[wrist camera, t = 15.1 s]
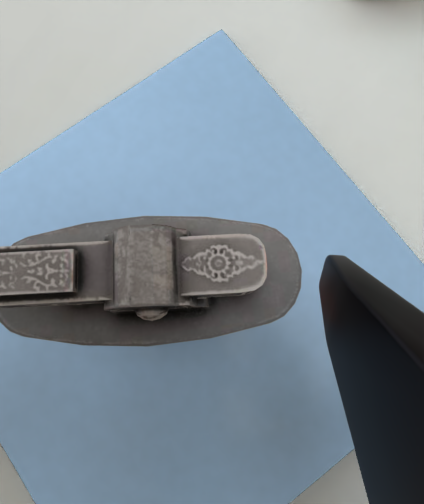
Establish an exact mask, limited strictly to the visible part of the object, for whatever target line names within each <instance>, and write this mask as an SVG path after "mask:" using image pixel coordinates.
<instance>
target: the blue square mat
mask: <svg viewBox="0 0 424 504" xmlns="http://www.w3.org/2000/svg"><path fill="white" fill-rule="evenodd" d="M138 216H203V217H212V218H220V219H228V220H235V221H243V222H251V223H259V224H264V225H267V226H270V227H272V228H275V229H277V230H278V231H279V232H281V233H282V234H283V235H284V236H286V237H287V238H288V239H289V240H290V242H291V244H292V245H293V247H294V248H295V250H296V252H297V253H298V257H299V261H300V265H301V269H302V278H301V289H300V292H299V294H298V297H297V300H296V302H295V304H294V305H293V307H292V308H291V309H290V310H289V311H288V312H287V314H286V315H285V316H284V317H282V318H280V319H278V320H276V321H274V322H272V323H269V324H265V325H262V326H258V327H254V328H250V329H246V330H242V331H238V332H234V333H230V334H226V335H222V336H218V337H215V338H210V339H202V340H194V341H187V342H179V343H171V344H163V345H156V346H148V347H145V346H88V345H77V344H70V343H63V342H56V341H49V340H42V339H35V338H28V337H23V336H20V335H17V334H15V333H12V332H10V331H9V330H8V329H7V328H6V327H5V326H4V325H3V324H1V323H0V443H1V445H2V447H3V448H4V450H5V452H6V454H7V455H8V457H9V459H10V460H11V462H12V464H13V466H14V467H15V469H16V471H17V473H18V474H19V476H20V478H21V479H22V481H23V483H24V485H25V486H26V488H27V490H28V491H29V493H30V495H31V497H32V498H33V500H34V502H35V503H36V504H289V503H290V502H291V501H293V500H294V499H295V498H296V497H297V496H299V495H300V494H301V493H302V492H303V491H305V490H306V489H307V488H308V487H309V486H310V485H312V484H313V483H314V482H315V481H316V480H318V479H319V478H320V477H321V476H322V475H324V474H325V473H326V472H327V471H328V470H330V469H331V468H332V467H333V466H334V465H335V464H337V463H338V462H339V461H340V460H341V459H343V458H344V457H345V456H346V455H347V454H349V453H350V452H351V451H352V450H353V449H354V445H353V441H352V437H351V433H350V430H349V426H348V422H347V418H346V415H345V411H344V407H343V403H342V400H341V396H340V392H339V388H338V385H337V381H336V377H335V373H334V370H333V366H332V362H331V358H330V355H329V351H328V347H327V343H326V337H325V330H324V322H323V315H322V308H321V300H320V293H319V281H320V277H321V273H322V270H323V266H324V262H325V259H326V257H327V256H328V255H343V256H346V257H347V258H349V259H350V260H351V261H353V262H354V263H356V264H357V265H358V266H360V267H361V268H363V269H364V270H365V271H367V272H368V273H369V274H371V275H372V276H374V277H375V278H376V279H378V280H379V281H381V282H382V283H383V284H385V285H386V286H387V287H389V288H390V289H392V290H393V291H394V292H396V293H397V294H399V295H400V296H401V297H403V298H404V299H405V300H407V301H408V302H410V303H411V304H412V305H414V306H415V307H417V308H418V309H419V310H421V311H422V312H423V313H424V264H423V263H422V262H421V261H420V260H419V259H418V257H417V256H416V255H415V254H414V253H413V252H412V250H411V249H410V248H409V247H408V246H407V245H406V243H405V242H404V241H403V240H402V239H401V238H400V236H399V235H398V234H397V233H396V232H395V231H394V229H393V228H392V227H391V226H390V225H389V224H388V222H387V221H386V220H385V219H384V218H383V217H382V215H381V214H380V213H379V212H378V211H377V210H376V208H375V207H374V206H373V205H372V204H371V203H370V201H369V200H368V199H367V198H366V197H365V196H364V194H363V193H362V192H361V191H360V190H359V189H358V187H357V186H356V185H355V184H354V183H353V182H352V180H351V179H350V178H349V177H348V176H347V175H346V173H345V172H344V171H343V170H342V169H341V168H340V166H339V165H338V164H337V163H336V162H335V161H334V160H333V158H332V157H331V156H330V155H329V154H328V153H327V151H326V150H325V149H324V148H323V147H322V146H321V144H320V143H319V142H318V141H317V140H316V139H315V137H314V136H313V135H312V134H311V133H310V132H309V130H308V129H307V128H306V127H305V126H304V125H303V123H302V122H301V121H300V120H299V119H298V118H297V116H296V115H295V114H294V113H293V112H292V111H291V109H290V108H289V107H288V106H287V105H286V104H285V102H284V101H283V100H282V99H281V98H280V97H279V95H278V94H277V93H276V92H275V91H274V90H273V88H272V87H271V86H270V85H269V84H268V83H267V81H266V80H265V79H264V78H263V77H262V76H261V74H260V73H259V72H258V71H257V70H256V69H255V67H254V66H253V65H252V64H251V63H250V62H249V60H248V59H247V58H246V57H245V56H244V55H243V54H242V52H241V51H240V50H239V49H238V48H237V47H236V45H235V44H234V43H233V42H232V41H231V40H230V38H229V37H228V36H227V35H226V34H225V33H224V31H223V30H222V29H221V30H220V31H218V32H216V33H215V34H213V35H212V36H210V37H209V38H207V39H206V40H204V41H203V42H201V43H200V44H198V45H196V46H195V47H193V48H192V49H190V50H189V51H187V52H186V53H184V54H183V55H181V56H180V57H178V58H177V59H175V60H173V61H172V62H170V63H169V64H167V65H166V66H164V67H163V68H161V69H160V70H158V71H157V72H155V73H154V74H152V75H150V76H149V77H147V78H146V79H144V80H143V81H141V82H140V83H138V84H137V85H135V86H134V87H132V88H130V89H129V90H127V91H126V92H124V93H123V94H121V95H120V96H118V97H117V98H115V99H114V100H112V101H111V102H109V103H107V104H106V105H104V106H103V107H101V108H100V109H98V110H97V111H95V112H94V113H92V114H91V115H89V116H87V117H86V118H84V119H83V120H81V121H80V122H78V123H77V124H75V125H74V126H72V127H71V128H69V129H68V130H66V131H64V132H63V133H61V134H60V135H58V136H57V137H55V138H54V139H52V140H51V141H49V142H48V143H46V144H44V145H43V146H41V147H40V148H38V149H37V150H35V151H34V152H32V153H31V154H29V155H28V156H26V157H25V158H23V159H21V160H20V161H18V162H17V163H15V164H14V165H12V166H11V167H9V168H8V169H6V170H5V171H3V172H2V173H0V247H2V246H11V245H12V244H13V243H15V242H17V241H19V240H22V239H24V238H26V237H29V236H33V235H37V234H41V233H45V232H50V231H54V230H58V229H62V228H66V227H70V226H75V225H79V224H83V223H89V222H97V221H106V220H114V219H122V218H130V217H138Z"/></svg>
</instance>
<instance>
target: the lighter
mask: <svg viewBox="0 0 424 504" xmlns="http://www.w3.org/2000/svg"><path fill="white" fill-rule="evenodd" d="M301 278H302V269H301V265H300V261H299V257H298V253H297V252H296V250H295V248H294V247H293V245H292V244H291V242H290V240H289V239H288V238H287V237H286V236H284V235H283V234H282V233H281V232H279V231H278V230H277V229H275V228H272V227H270V226H267V225H264V224H259V223H251V222H243V221H235V220H228V219H220V218H212V217H203V216H138V217H130V218H122V219H114V220H106V221H97V222H89V223H83V224H79V225H75V226H70V227H66V228H62V229H58V230H54V231H50V232H45V233H41V234H37V235H33V236H29V237H26V238H24V239H22V240H19V241H17V242H15V243H13V244H12V245H11V246H2V247H0V323H1V324H3V325H4V326H5V327H6V328H7V329H8V330H9V331H10V332H12V333H15V334H17V335H20V336H23V337H28V338H35V339H42V340H49V341H56V342H63V343H70V344H77V345H88V346H145V347H148V346H156V345H163V344H171V343H179V342H187V341H194V340H202V339H210V338H215V337H218V336H222V335H226V334H230V333H234V332H238V331H242V330H246V329H250V328H254V327H258V326H262V325H265V324H269V323H272V322H274V321H276V320H278V319H280V318H282V317H284V316H285V315H286V314H287V312H288V311H289V310H290V309H291V308H292V307H293V305H294V304H295V302H296V300H297V297H298V294H299V292H300V289H301Z"/></svg>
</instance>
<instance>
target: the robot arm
mask: <svg viewBox="0 0 424 504" xmlns="http://www.w3.org/2000/svg"><path fill="white" fill-rule="evenodd" d="M319 293H320V300H321V308H322V315H323V322H324V330H325V337H326V343H327V347H328V351H329V355H330V358H331V362H332V366H333V370H334V373H335V377H336V381H337V385H338V388H339V392H340V396H341V400H342V403H343V407H344V411H345V415H346V418H347V422H348V426H349V430H350V433H351V437H352V441H353V445H354V448H355V452H356V456H357V460H358V463H359V467H360V471H361V474H362V478H363V482H364V486H365V489H366V493H367V497H368V501H369V504H424V313H423V312H422V311H421V310H419V309H418V308H417V307H415V306H414V305H412V304H411V303H410V302H408V301H407V300H405V299H404V298H403V297H401V296H400V295H399V294H397V293H396V292H394V291H393V290H392V289H390V288H389V287H387V286H386V285H385V284H383V283H382V282H381V281H379V280H378V279H376V278H375V277H374V276H372V275H371V274H369V273H368V272H367V271H365V270H364V269H363V268H361V267H360V266H358V265H357V264H356V263H354V262H353V261H351V260H350V259H349V258H347V257H346V256H343V255H328V256H327V257H326V259H325V262H324V266H323V270H322V273H321V277H320V281H319Z"/></svg>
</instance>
